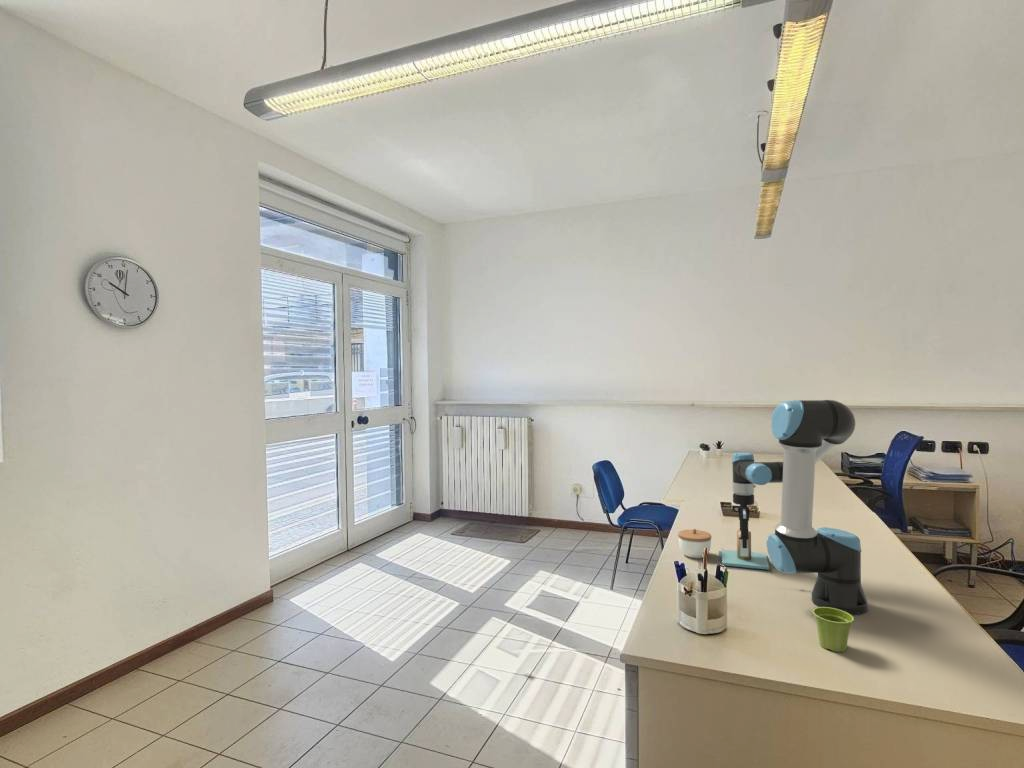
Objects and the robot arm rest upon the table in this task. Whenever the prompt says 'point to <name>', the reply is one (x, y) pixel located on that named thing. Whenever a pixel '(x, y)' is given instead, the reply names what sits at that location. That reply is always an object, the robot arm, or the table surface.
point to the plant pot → (833, 627)
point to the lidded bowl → (694, 542)
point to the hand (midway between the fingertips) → (744, 553)
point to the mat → (744, 567)
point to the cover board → (742, 563)
